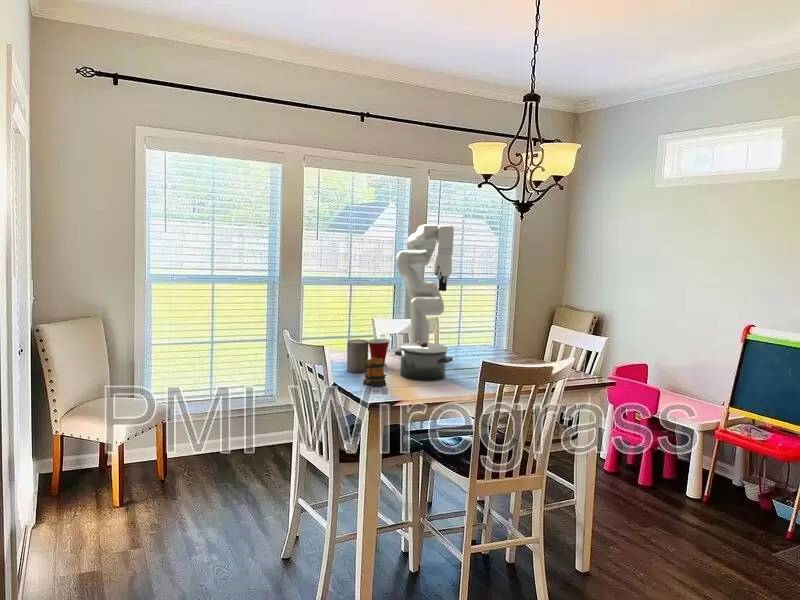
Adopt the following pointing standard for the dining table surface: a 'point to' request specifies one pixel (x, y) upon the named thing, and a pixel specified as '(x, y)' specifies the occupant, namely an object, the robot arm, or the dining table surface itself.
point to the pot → (423, 365)
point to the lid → (424, 347)
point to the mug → (375, 373)
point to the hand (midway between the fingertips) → (442, 290)
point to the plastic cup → (378, 348)
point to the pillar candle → (357, 355)
